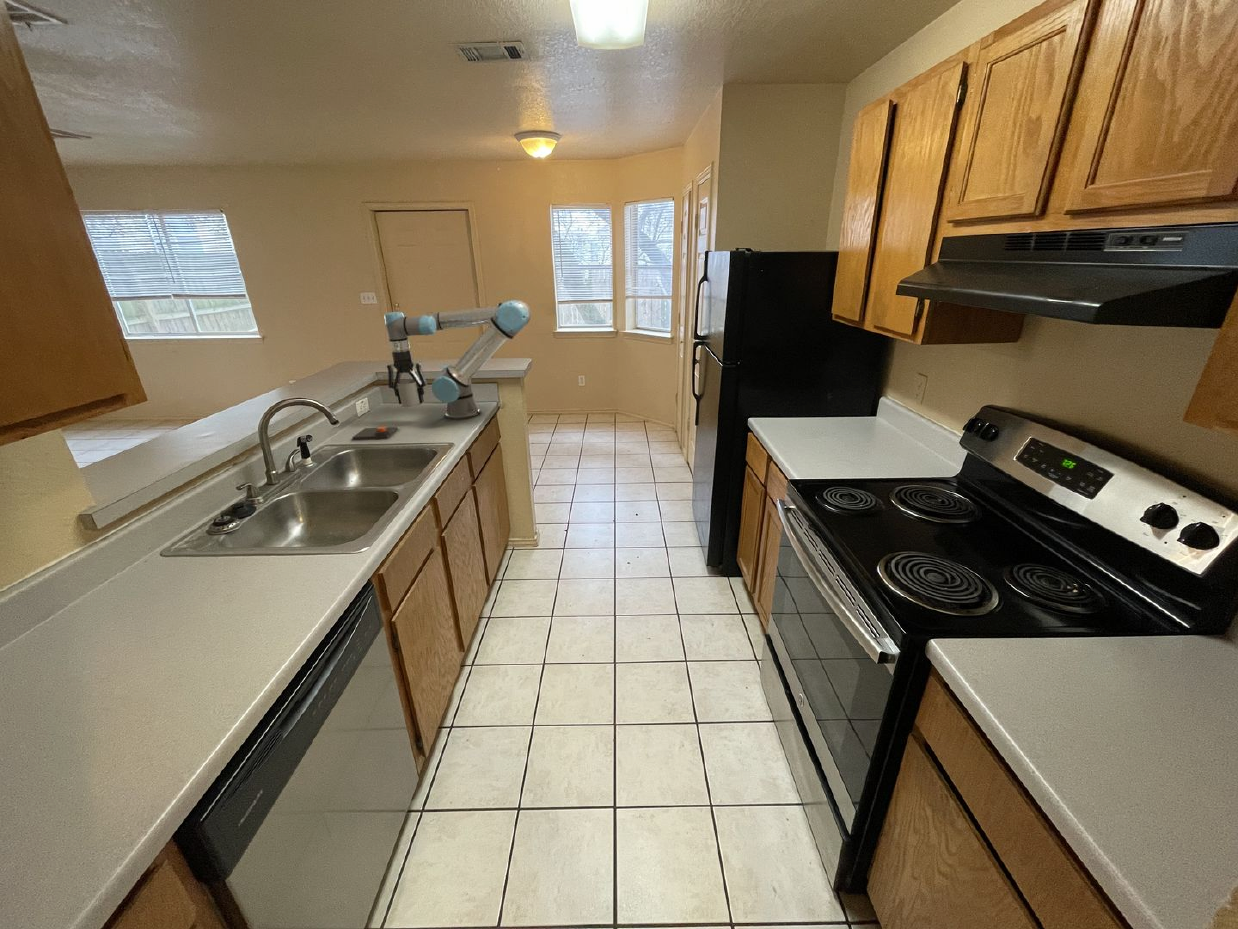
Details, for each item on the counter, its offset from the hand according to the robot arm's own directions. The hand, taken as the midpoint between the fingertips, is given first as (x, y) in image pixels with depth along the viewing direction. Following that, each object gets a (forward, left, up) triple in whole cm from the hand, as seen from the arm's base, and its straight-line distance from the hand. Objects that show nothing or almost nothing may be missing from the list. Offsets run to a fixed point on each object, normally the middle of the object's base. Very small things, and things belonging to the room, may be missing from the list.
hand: (411, 402), depth 222 cm
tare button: (+8, +16, -7) cm, 20 cm away
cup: (0, 0, -1) cm, 1 cm away
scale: (+12, +13, -10) cm, 21 cm away
